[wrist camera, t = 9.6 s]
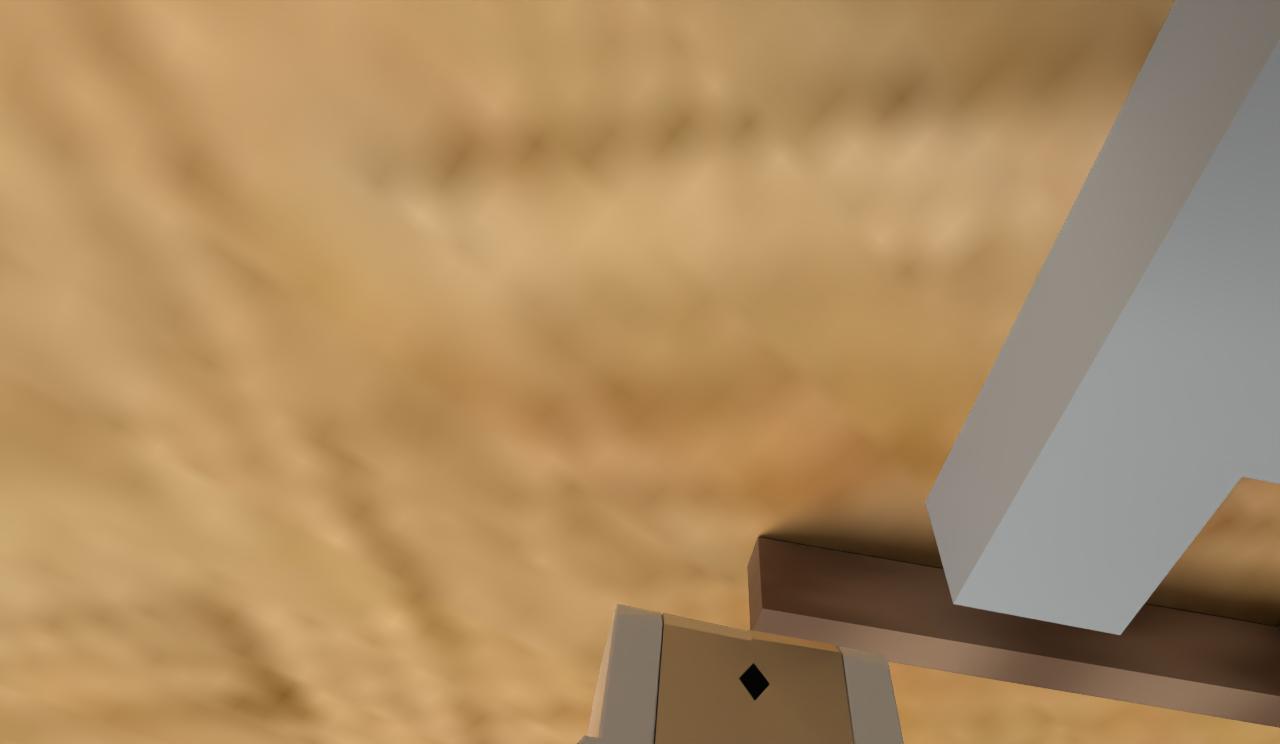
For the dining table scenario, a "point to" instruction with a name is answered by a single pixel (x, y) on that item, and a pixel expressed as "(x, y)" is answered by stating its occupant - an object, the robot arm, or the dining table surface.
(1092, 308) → the T-block
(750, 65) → the dining table surface
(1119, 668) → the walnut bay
